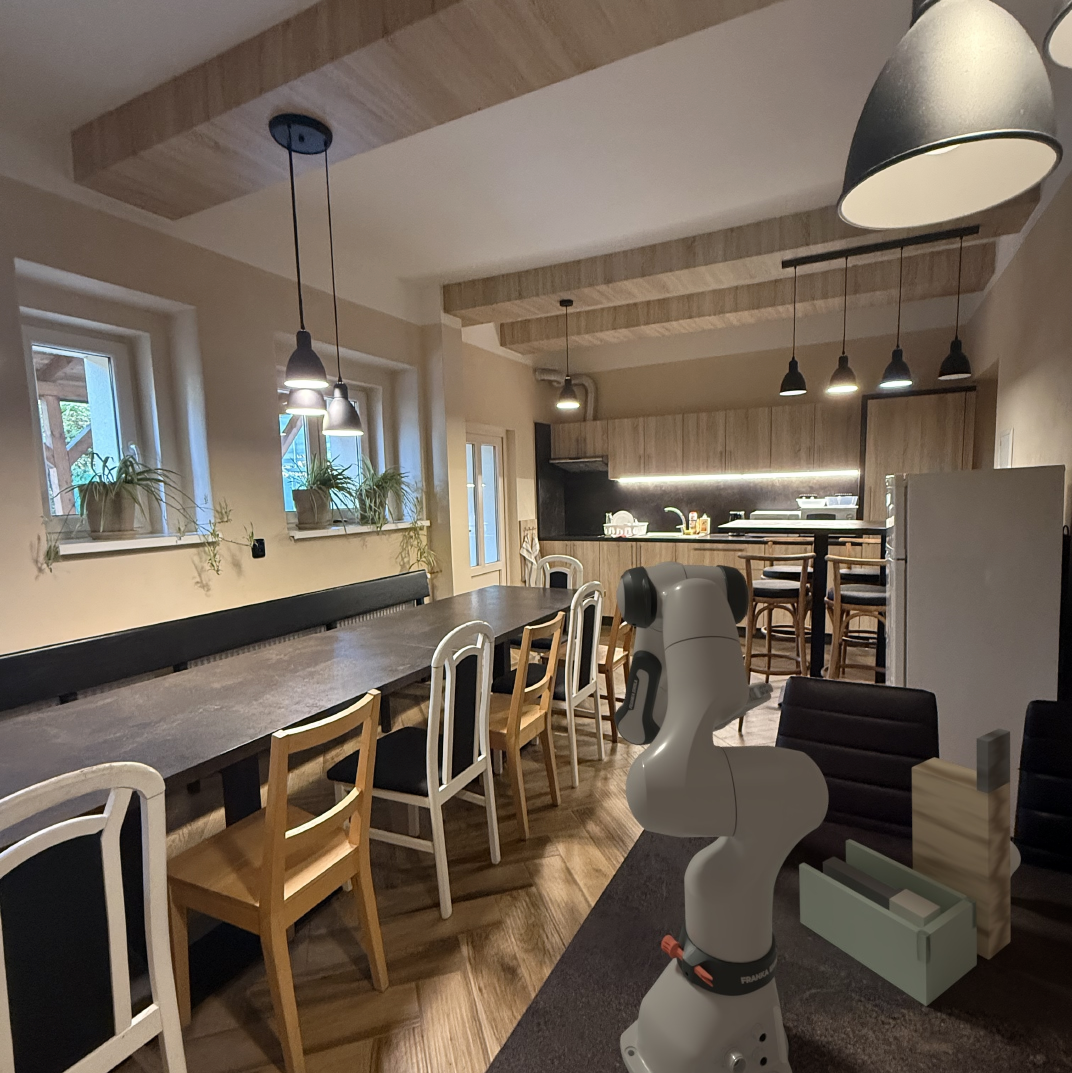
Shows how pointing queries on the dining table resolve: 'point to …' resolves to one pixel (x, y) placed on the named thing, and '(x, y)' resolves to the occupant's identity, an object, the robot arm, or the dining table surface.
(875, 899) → the grey square bar
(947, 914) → the bin
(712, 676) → the robot arm
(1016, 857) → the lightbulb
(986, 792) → the stand
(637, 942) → the dining table surface
